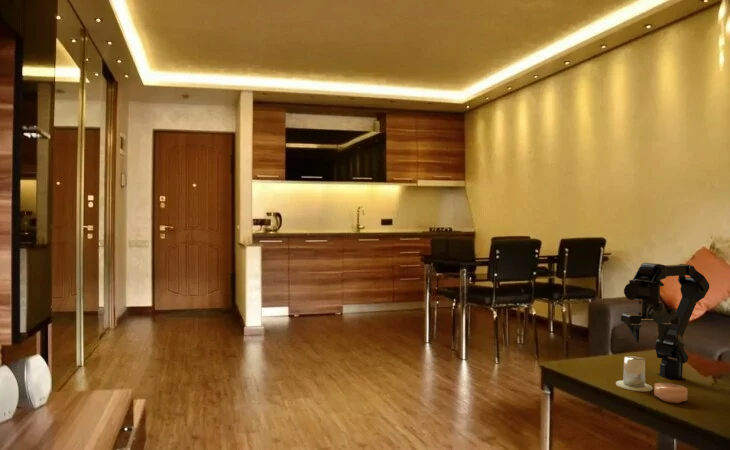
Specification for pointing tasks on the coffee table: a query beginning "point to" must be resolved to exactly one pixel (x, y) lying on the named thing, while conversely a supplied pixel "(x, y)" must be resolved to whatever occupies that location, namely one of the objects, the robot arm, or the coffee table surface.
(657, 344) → the robot arm
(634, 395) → the coffee table surface
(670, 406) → the coffee table surface
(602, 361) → the coffee table surface
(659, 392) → the bowl
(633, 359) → the frosted glass jar
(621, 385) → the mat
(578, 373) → the coffee table surface
